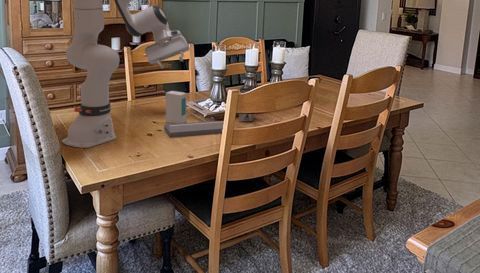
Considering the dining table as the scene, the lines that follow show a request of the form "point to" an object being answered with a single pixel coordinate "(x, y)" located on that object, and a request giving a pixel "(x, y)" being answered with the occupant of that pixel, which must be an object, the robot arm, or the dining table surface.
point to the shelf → (193, 128)
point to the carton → (175, 107)
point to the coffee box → (246, 116)
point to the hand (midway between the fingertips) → (172, 64)
